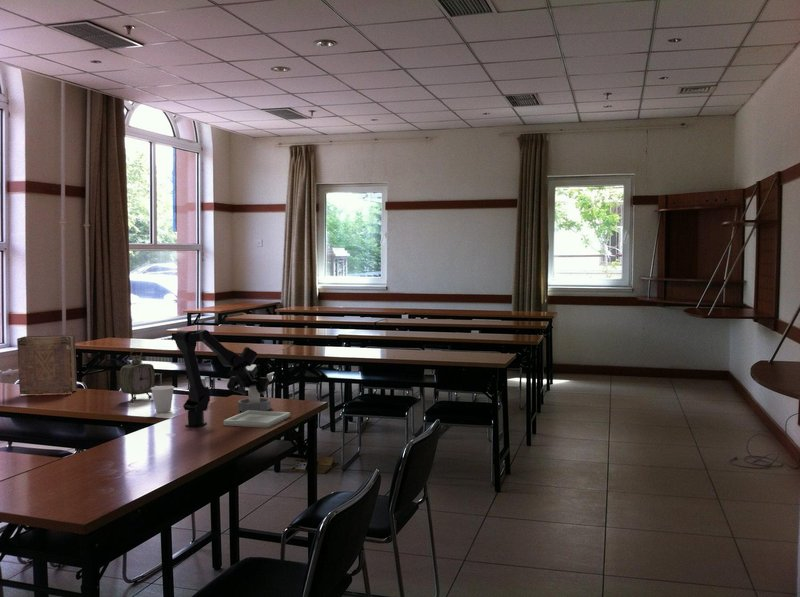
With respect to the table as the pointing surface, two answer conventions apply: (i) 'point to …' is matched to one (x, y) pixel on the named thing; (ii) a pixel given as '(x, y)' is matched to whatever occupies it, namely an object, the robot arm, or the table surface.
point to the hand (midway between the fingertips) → (255, 394)
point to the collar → (254, 405)
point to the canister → (253, 395)
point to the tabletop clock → (137, 377)
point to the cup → (162, 398)
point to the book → (47, 364)
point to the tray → (257, 418)
